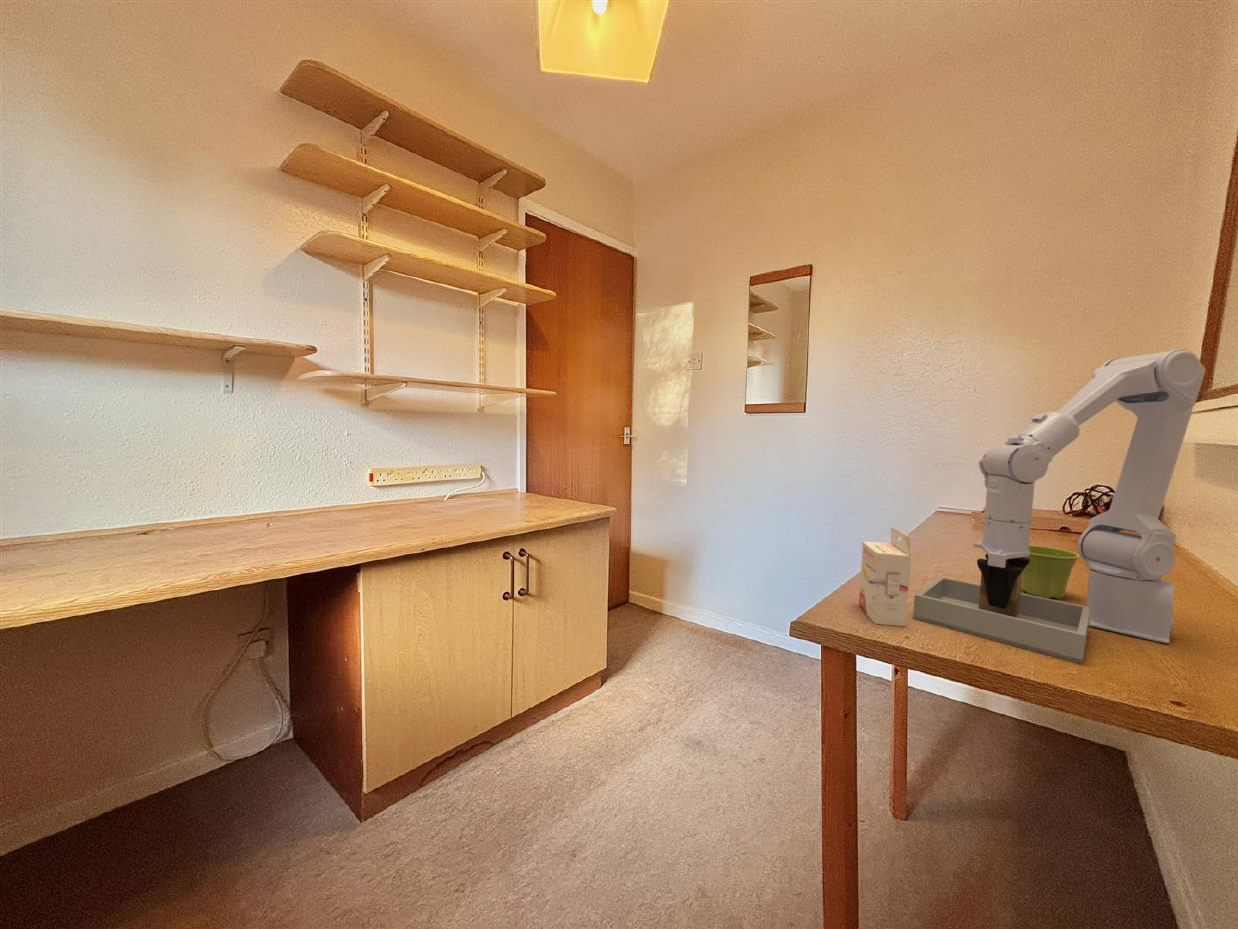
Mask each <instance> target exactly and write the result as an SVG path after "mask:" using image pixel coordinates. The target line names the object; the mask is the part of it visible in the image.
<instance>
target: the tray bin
mask: <svg viewBox="0 0 1238 929" xmlns="http://www.w3.org/2000/svg"><path fill="white" fill-rule="evenodd" d="M979 597H980V583H979V584H978V583H975V582H969V581H965V580H964V581H963V580H959V579H953V578H950V577H945V576H939V577H937V578H935V580H933V581H932V582H930V583H929V584H927V586H925V587H923V588H922V589H921V590H920V591H918V592H917V593H915V594H914V598H913V600H914V602H913V603H914V604H913V613H912V614H913V616H912V618H913V619H914V620H917V621H922V622H924V623H928V624H932V625H935V626H940V627H943V628H947V629H951V630H955V631H958V632H962V633H965V634H968V635H973V636H976V637H980V638H984V639H986V640H991V641H994V642H999V643H1002V644H1005V645H1009V646H1013V647H1017V648H1020V649H1024V650H1027V651H1031V652H1034V653H1039V654H1042V655H1046V656H1050V657H1054V658H1057V659H1061V660H1064V661H1068V662H1073V663H1075V664H1080V665H1083V664H1084V656H1085V653H1086V652H1085V651H1086V646H1087V640H1088V635H1089V634H1088V633H1089V627H1090V626H1089V616H1090V607H1086V605H1081V604H1076V603H1072V602H1071V603H1070V602H1067V601H1060V600H1056V599H1051V598H1043V597H1039V596H1034V595H1031V594H1029V593H1022V592H1020V603H1019V614H1018V615H1017V617H1011V616H1007V615H1003V614H999V613H995V612H990V611H986V610H982V609H979Z"/></svg>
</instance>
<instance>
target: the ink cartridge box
mask: <svg viewBox="0 0 1238 929" xmlns="http://www.w3.org/2000/svg"><path fill="white" fill-rule="evenodd" d="M890 536H891V537H890V540H891V542H878V541H865V540H864V541H862V548H861V549H862V550H861V551H862V552H861V554H862V555H861V568H860V569H861V570H860V585H859V598H858V599H859V600H858V606H859V605H860V606H861V607H862V608H863V609H862V608H861V607H860V606H859V607H860V608H861V609H862V610H863V612H864V611H865V612H864V613H865V614H866V613H867V614H866V615H867V617H868V616H869V617H868V618H869V619H870V620H871V619H872V620H871V621H873V622H874V623H873V622H872V623H873V624H874V625H884V626H894V627H906V626H907V612H908V598H909V597H908V595H909V580H910V569H911V566H910V565H911V545H910V544H911V542H910V541H911V540H910V536H909V535H908V534H907V533H904V532H903V531H902V530H900V529H897V528H895V527H894V526H891V527H890ZM898 537H900V539H902V541H900V540H899V539H898Z"/></svg>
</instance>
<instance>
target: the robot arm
mask: <svg viewBox="0 0 1238 929" xmlns="http://www.w3.org/2000/svg"><path fill="white" fill-rule="evenodd" d="M1206 371H1207V370H1206V368H1205V367H1204V365H1203V364H1202V362H1201V361H1200V359H1199V358H1198V356H1197V355H1196V354H1195V353H1193V351H1191V350H1189V349H1185V348H1177V349H1171V350H1168V351H1164V352H1163V351H1162V352H1155V353H1150V354H1149V353H1148V354H1141V355H1140V354H1139V355H1133V356H1127V357H1114V358H1110V359H1108V360H1106V361H1105V362H1104V363H1103V364H1102V365H1101V366H1100V367H1098V368H1096V369H1095V370H1093V372H1092V379H1090V381H1088V383H1086V384H1085V385H1084V386H1083V387H1082V388H1081V389H1080V390H1079V391H1077V393H1076V394H1075V395H1073V396H1072V397H1071V398H1070V399H1069V400H1068V401H1067V402H1066V403H1065V404H1063V405H1062V406H1061V408H1059V409H1058V410H1057V411H1055V412H1054V411H1046V412H1043V413H1037V414H1035V415H1034V416H1033V417H1032V416H1031V418H1030V420H1031V422H1030V423H1028V425H1026V426H1025V427H1024V428H1022V429H1021V430H1020V431H1018V432H1017V433H1015V434H1012V435H1011V436H1009V437H1008V440H1007V441H1006V442H1005V444H996V445H994V446H992V447H990V448H988V450H986V451H985V453H984V454H983V456H982V458H981V460H978V468H979V471H980V472H981V473H982V475H983V477H984V486H985V488H986V496H985V508H984V510H985V511H984V521H983V522H984V523H983V531H982V532H983V533H982V541H974V542H972V543H973V545H972V547H974V548H979V549H980V550H982V551H983V552H984V553H985V555H984V558H978V559H976V564H977V568H978V569H979V570H980V572H981V573H982V575H983V578H984V582H985V586H986V593H987V599H988V603H989V605H991V606H995V607H999V608H1004V609H1005V608H1006V607H1007V605H1008V603H1009V600H1010V596H1011V593H1012V589H1013V586H1014V584H1015V582H1016V580H1017V578H1018V576H1019V575H1020V574H1021V573H1022V572H1023V570H1024V568H1025V567H1026V566H1027V565H1028V564H1029V562H1030V559H1029V558H1025V557H1026V556H1029V555H1030V550H1029V545H1030V540H1031V539H1030V538H1031V528H1032V517H1033V516H1032V515H1033V507H1034V506H1033V504H1034V494H1035V493H1034V492H1035V482H1036V481H1038V480H1039V479H1042V478H1044V477H1045V475H1046V473H1047V471H1048V469H1049V468H1048V467H1049V464H1050V463H1051V462H1052V461H1053V458H1054V457H1055V456H1056V455H1057V454H1059V453H1060V452H1061V451H1062V450H1064V449H1065V448H1066V447H1067V446H1069V445H1070V444H1071V443H1073V442H1074V441H1075V440H1076V439H1077V438H1078V437H1079V435H1080V426H1081V425H1082V424H1084V423H1086V421H1088V420H1090V419H1091V418H1093V417H1094V416H1095V415H1097V414H1098V413H1100V412H1101V411H1102V410H1105V409H1106V408H1107V407H1109V406H1110V405H1111V404H1113V403H1115V402H1116V404H1118V405H1119V406H1121V407H1122V408H1123V409H1125V410H1127V411H1130V412H1132V413H1133V414H1134V415H1135V416H1136V423H1135V426H1134V430H1133V433H1132V437H1131V439H1130V442H1129V445H1128V449H1127V452H1126V455H1125V459H1124V460H1123V461H1124V462H1123V463H1122V464H1123V465H1122V468H1121V471H1120V474H1119V477H1118V481H1117V483H1116V488H1115V489H1114V494H1113V497H1112V500H1111V503H1110V507H1109V509H1108V510H1106V511H1104V512H1102V513H1099V514H1097V515H1096V516H1094V517H1092V518H1090V520H1089V523H1088V526H1087V527H1086V528H1085V530H1084V531H1083V532H1082V533H1081V534H1080V536H1079V538H1078V541H1077V545H1076V546H1077V548H1076V549H1077V551H1078V555H1080V557H1081V559H1083V561H1085V563H1084V564H1085V565H1084V566H1085V567H1088V568H1089V572H1088V573H1089V574H1088V582H1087V583H1088V584H1087V593H1086V604H1085V606H1086V607H1090V616H1089V626H1088V627H1092V628H1097V629H1101V630H1105V631H1106V630H1107V631H1111V632H1114V633H1118V634H1119V633H1120V634H1124V635H1127V636H1133V637H1137V638H1141V639H1145V640H1149V641H1154V642H1159V643H1163V644H1170V639H1171V638H1170V637H1171V631H1172V630H1173V629H1174V618H1173V610H1174V609H1173V608H1174V603H1175V602H1174V600H1175V583H1174V582H1172V581H1170V580H1164V579H1162V578H1163V577H1164V576H1166V575H1167V574H1169V572H1171V570H1172V569H1173V568H1174V565H1175V563H1176V554H1175V542H1176V540H1177V539H1176V538H1177V535H1176V533H1175V532H1173V531H1172V530H1171V529H1170V528H1169V527H1168V526H1166V525H1165V524H1164V523H1163V522H1162V521H1161V520H1159V517H1160V514H1161V511H1162V509H1163V508H1162V507H1163V504H1164V501H1165V498H1166V496H1167V492H1168V490H1169V489H1168V488H1169V487H1170V483H1171V479H1172V476H1173V473H1174V470H1175V467H1176V464H1177V461H1178V458H1179V454H1180V451H1181V448H1182V445H1183V442H1184V438H1185V435H1186V434H1187V429H1188V426H1189V423H1190V420H1191V417H1192V413H1193V407H1195V405H1196V403H1197V399H1198V396H1199V392H1200V389H1201V387H1202V384H1203V380H1204V377H1205V374H1206ZM1123 531H1127V532H1123ZM1129 532H1133V533H1137V534H1133V533H1129ZM981 573H980V574H981Z"/></svg>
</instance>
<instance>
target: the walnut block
mask: <svg viewBox="0 0 1238 929" xmlns="http://www.w3.org/2000/svg"><path fill="white" fill-rule="evenodd" d="M1021 580H1022V573H1021V574H1020V575H1019V576H1018V578H1017V580H1016V582H1015V584H1014V586H1013V589H1012V593H1011V596H1010V600H1009V603H1008V605H1007V607H1006V608H1005V609H1004V608H999V607H995V606H991V605H989V603H988V599H987V593H986V586H985V582H984V578H983V575H982V573H980V583H979V585H980V597H979V609H982V610H986V611H990V612H995V613H999V614H1003V615H1007V616H1011V617H1017V615H1018V614H1019V603H1020V593H1021V592H1022V591H1021V590H1022V586H1021Z"/></svg>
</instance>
